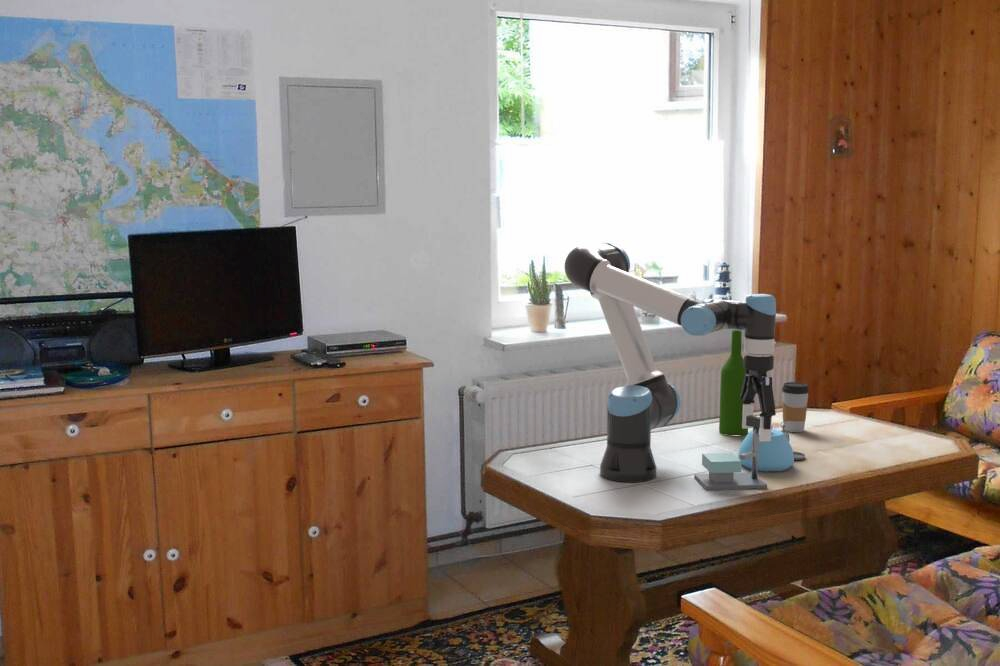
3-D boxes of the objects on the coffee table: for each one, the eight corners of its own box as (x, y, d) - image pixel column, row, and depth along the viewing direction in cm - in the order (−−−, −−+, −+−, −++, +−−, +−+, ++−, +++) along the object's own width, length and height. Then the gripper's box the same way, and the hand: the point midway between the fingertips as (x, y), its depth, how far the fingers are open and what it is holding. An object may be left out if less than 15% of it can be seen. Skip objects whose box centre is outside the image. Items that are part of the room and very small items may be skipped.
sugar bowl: (731, 459, 280) (732, 419, 279) (782, 458, 281) (784, 418, 280) (747, 474, 266) (748, 432, 264) (801, 473, 267) (803, 431, 265)
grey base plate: (706, 490, 251) (706, 475, 251) (694, 477, 262) (694, 463, 262) (767, 488, 253) (767, 473, 252) (752, 476, 264) (753, 461, 263)
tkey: (749, 484, 252) (752, 422, 249) (732, 480, 255) (735, 419, 253) (764, 479, 257) (767, 418, 254) (747, 475, 260) (750, 415, 258)
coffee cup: (810, 433, 309) (812, 387, 307) (784, 433, 309) (786, 386, 307) (802, 427, 317) (804, 381, 315) (777, 427, 317) (778, 381, 315)
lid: (710, 473, 252) (711, 461, 252) (701, 464, 260) (702, 453, 260) (741, 472, 253) (741, 461, 253) (731, 463, 261) (731, 452, 260)
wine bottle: (753, 435, 307) (756, 332, 302) (726, 437, 305) (730, 333, 300) (739, 428, 316) (743, 328, 311) (714, 430, 314) (717, 329, 309)
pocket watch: (806, 461, 277) (808, 427, 276) (775, 460, 279) (777, 425, 278) (803, 454, 285) (805, 420, 284) (773, 452, 287) (774, 419, 286)
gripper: (791, 362, 241) (787, 446, 244) (756, 346, 266) (754, 422, 269) (761, 362, 240) (758, 447, 244) (729, 346, 265) (727, 423, 268)
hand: (756, 434), depth 256 cm, fingers open, 13 cm apart
